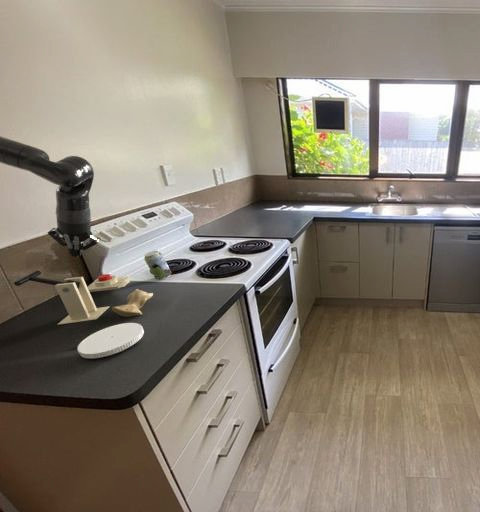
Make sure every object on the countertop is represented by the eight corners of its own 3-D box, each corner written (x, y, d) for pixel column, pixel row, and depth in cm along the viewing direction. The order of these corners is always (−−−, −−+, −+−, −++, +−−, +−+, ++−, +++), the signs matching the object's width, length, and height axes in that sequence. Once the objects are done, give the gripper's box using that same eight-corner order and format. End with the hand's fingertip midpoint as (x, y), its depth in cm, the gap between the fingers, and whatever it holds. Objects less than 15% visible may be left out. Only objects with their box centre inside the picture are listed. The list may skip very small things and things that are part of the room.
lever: (13, 286, 83) (14, 279, 83) (34, 275, 90) (35, 268, 90) (68, 296, 88) (69, 289, 88) (84, 284, 95) (85, 278, 95)
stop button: (97, 282, 111) (95, 278, 110) (102, 278, 114) (100, 274, 114) (108, 281, 112) (107, 277, 111) (113, 277, 115) (111, 273, 115)
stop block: (84, 295, 109) (80, 286, 108) (98, 284, 117) (94, 276, 115) (119, 291, 112) (116, 282, 111) (130, 281, 120) (127, 272, 119)
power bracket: (58, 327, 90) (39, 289, 85) (75, 313, 98) (57, 277, 92) (97, 322, 93) (81, 284, 88) (110, 309, 100) (96, 273, 95)
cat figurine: (107, 307, 90) (130, 281, 100) (111, 321, 94) (133, 295, 104) (137, 311, 92) (157, 285, 102) (141, 325, 96) (159, 299, 106)
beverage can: (174, 277, 124) (166, 251, 119) (153, 283, 118) (144, 256, 114) (170, 273, 127) (162, 248, 123) (150, 278, 122) (141, 252, 118)
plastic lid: (93, 368, 74) (89, 360, 73) (72, 350, 81) (68, 343, 80) (154, 338, 86) (151, 331, 85) (132, 324, 92) (129, 318, 91)
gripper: (106, 216, 98) (105, 253, 107) (53, 203, 92) (57, 243, 101) (94, 228, 93) (94, 266, 101) (37, 215, 87) (42, 257, 95)
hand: (76, 255), depth 101 cm, fingers closed
